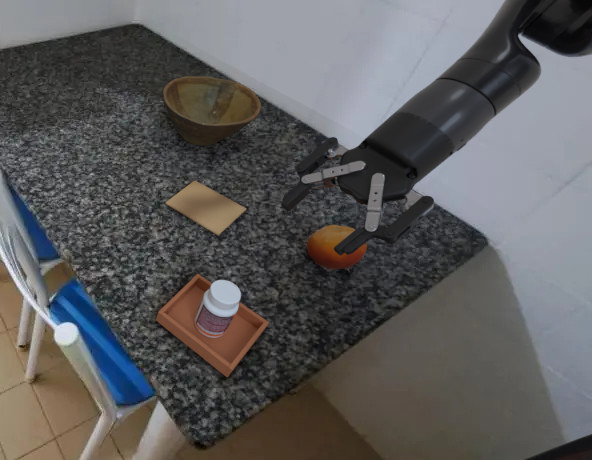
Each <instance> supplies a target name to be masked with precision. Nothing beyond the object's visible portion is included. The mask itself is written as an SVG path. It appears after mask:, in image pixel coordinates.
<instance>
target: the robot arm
mask: <svg viewBox="0 0 592 460" xmlns="http://www.w3.org/2000/svg"><path fill="white" fill-rule="evenodd" d="M519 36H520V37H522V38H524V39H526V40H528V41H530V42H532V43H534V44H535V45H538V46H539V47H543V48H545V50H548V51H550V52H552V53H554V54H556V55H559V56H561V57H564V58H565V57H567V58H583V57H588V56H592V0H504V2H502V4H501V6H500V7H499V8H498V10H497V12H496V13H495V15H494V17H492V19H491V21H490V22H489V24H488V25H487V27H486V28H485V29H484V31H483V32H482V33H481V34H480V36H479V37H478V38H477V39H476V40H475V41H474V43H473V44H472V45H471V46H469V49H467V50H466V51H465V52H464V53H463V54H462V55H461V56H460V57H459V58H458V59H457V60H456V61H455V62H453V64H452V65H450V66H449V67H448V68H447V69H446V70H445V71H444V72H442V73H441V74H440V75H439V76H437V78H436V79H434V80H433V81H432V82H430V84H428V85H427V86H425V87H424V88H423V89H421V90H420V91H419V92H416V94H414V95H413V96H412V97H411V98H410V99H408V100H407V101H406V102H405V103H404V104H403V105H402V106H400V108H398V109H397V110H396V111H395V112H394V113H392V114H391V115H390V116H389V117H388V118H387V119H385V120H384V121H383V122H382V123H381V124H380V125H379V126H378V127H377V128H375V129H374V130H373V131H372V132H371V133H370V134H369V135H367V136H366V137H365V138H364V139H363V140H362V141H361V142H360V143H359V144H358V145H357V146H355V147H354V148H351V149H347V148H346V147H345V146H344V145H342V144H341V143H339V141H338V138H337V137H335V136H331V137H329V138H327V139H326V140H325V141H323V142H322V143H321V144H320V145H319V146H318V147H317V148H315V149H313V151H312V152H311V153H309V154H308V155H307V156H306V157H304V159H302V160H301V161H299V162H298V163H297V164H296V165H295V167H294V170H295V172H296V174H297V176H298V177H299V180H298V183H296V185H294V186H293V187H292V188H291V189H289V190H288V191H287V193H285V194H284V195H283V197H282V199H281V201H282V202H281V203H280V206H281V207H282V208H283V210H285V211H287V212H290V211H292V210H293V209H294V208H295V207H296V206H297V205H299V204H300V203H301V202H302V201H303V200H304V199H305V198H307V196H309V195H310V194H311V190H316V189H322V188H326V189H327V188H328V189H330V188H336V187H338V188H339V190H340V191H341V192H343V193H344V194H346V195H349V196H351V197H353V199H354V200H355V201H356V202H357V203H358V204H360V205H361V206H363V205H364V206H366V217H365V223H364V226H362V227H361V226H358V227H357V228H356V229H355V231H353V232H352V233H351V234H350V235H349V236H347V237H346V238H345V239H344V240H342V241H341V242H340V243H339V244H337V245H336V246H335V247H334V251H335V252H336V253H338V254H339V255H342V254H344V253H346V254H347V255H349V254H352V253H354V252H355V251H356V250H357V249H359V248H360V247H361V246H362V245H364V244H365V243H366V244H367V243H368V241H370V240H372V239H378V240H382V241H384V242H386V243H387V244H391V245H392V244H396V243H397V242H399V240H400V239H402V238H403V237H404V236H406V234H407V233H409V231H411V230H412V229H413V228H414V227H415V226H416V225H417V224H418V223H420V222H421V221H422V220H423V219H425V217H427V216H428V215H429V214H430V213H431V212H432V211H433V210H434V206H435V199H434V197H432V196H430V195H422V194H420V193H418V192H417V191H415V190H413V188H414V187H415V185H417V184H418V183H420V182H421V180H423V179H424V178H426V177H427V176H428V175H429V174H430V173H431V172H433V171H434V170H436V168H438V167H439V166H440V165H442V164H443V163H444V162H445V161H446V160H448V159H449V158H450V157H451V156H452V155H453V154H455V153H456V152H459V151H460V150H462V149H463V148H464V147H466V145H467V144H468V142H470V141H471V140H472V139H473V138H474V137H476V136H477V134H479V132H481V131H482V130H483V129H484V127H485V126H487V124H489V122H490V121H492V120H493V119H494V118H495V117H496V116H498V115H499V114H500V113H502V112H503V111H504V110H505V109H506V108H508V107H509V106H510V105H511V104H513V103H514V102H515V101H516V100H518V99H519V98H520V97H521V96H522V95H523V94H525V93H526V92H527V91H528V90H529V89H531V88H532V87H533V86H534V85H535V84H536V83H537V81H538V80H539V79H540V78H541V74H542V67H541V63H540V61H539V59H538V58H537V57H536V56H535V55H534V54H533V52H531V50H530V49H529V48H528V47H527V46H526V45H525V44H524V43H523V42H522V41H521V38H520V37H519ZM339 158H340V161H339V162H340V163H339V165H338V166H333V167H329V168H324V169H321V170H320V171H318V172H316V171H317V170H318V169H320V167H322V166H323V165H324V164H325V163H327V162H328V161H334V160H336V159H339ZM401 200H406V201H405V203H404V212H403V213H402V214H401V215H399V217H397V218H396V219H395V220H394V221H393V222H391V224H390V225H388V227H387V226H383V225H381V223H382V219H383V215H384V207H385V204H386V203H390V202H391V203H392V202H396V201H401ZM523 460H592V433H590V434H587V435H585V436H582V437H579V438H576V439H573V440H571V441H568V442H566V443H563V444H561V445H557V446H555V447H552V448H550V449H548V450H545V451H542V452H540V453H536V454H534V455H532V456H529V457H526V458H524V459H523Z"/></svg>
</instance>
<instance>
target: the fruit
mask: <svg viewBox="0 0 592 460" xmlns="http://www.w3.org/2000/svg"><path fill="white" fill-rule="evenodd" d="M355 230H356V229H355V228H353V227H350V226H347V225H346V226H345V225H337V224H329V225H325V226H323V227H321V228H319V229H318V230H316V231H314V232H313V233H312V234H311V235H310V236H309V237H308V240H307V242H306V247H307V253H308V255H309V258H311V260H313V263H315V265H317V266H319V267H321V268H323V270H325V271H326V272H327V273H329V272H332V271H336V270H343V269H344V270H347V272H348V273H349V274H350V272H351V271H350V268H352V267H353V266H354V265H356V264H358V263H359V262H360V261H361V260H362V258H363V257H364V255H365V254H366V252H367V249H368V245H367V242H366V243H365V244H364V245H362V246H361V247H360V248H359V249H357V250H356V251H355V252H354V253H352V254H349V255H347V254H346V253H344V254H342V255H339V254H338V253H336V252H335V251H334V247H335V246H336V245H337V244H339V243H340V242H341V241H342V240H344V239H345V238H346V237H347V236H349V235H350V234H351V233H352V232H353V231H355Z"/></svg>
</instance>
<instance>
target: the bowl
mask: <svg viewBox="0 0 592 460" xmlns="http://www.w3.org/2000/svg"><path fill="white" fill-rule="evenodd" d="M162 99H163V104H164V107H165V110H166V112H167V115H168V117H169V119H170V121H171V123H172V125H173V126H174V128H175V129H176V131H177V132H178V133H179V135H180V137H181V138H182V139H183V140H184V141H186V142H187V143H189V144H192V145H195V146H199V147H203V146H204V147H208V146H212V145H214V144H216V143H218V142H220V141H222V140H224V139H227V138H228V137H230V136H232V135H234V134H236V133H237V132H238V131H240V130H242V129H243V128H245V127H246V126H247V125H249V124H250V123H252V121H254V120H255V119H256V118H257V117H258V116H259V114H260V112H261V110H262V103H261V100H260V98H259V96H258V95H257V93H256V92H255V91H253V90H252V88H249V87H248V86H246V85H244V84H241V83H239V82H237V81H234V80H231V79H225V78H217V77H213V76H206V75H205V76H204V75H201V76H191V75H188V76H181V77H177V78H174V79H172V80H171V81H169V82H168V83H167V84H166V85H165V86H164V87H163V90H162Z"/></svg>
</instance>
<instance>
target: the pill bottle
mask: <svg viewBox="0 0 592 460" xmlns="http://www.w3.org/2000/svg"><path fill="white" fill-rule="evenodd" d="M211 283H212V285H211V287H210V289H208V290H207V291H206V292H205V293H204V295H203V298H202V300H201V303H200V305H199V308H198V310H197V312H196V315H195V318H194V323H195V326H196V328H197V329H198V331H199V332H200V333H202V334H203V335H205V336H207V337H211V338H217V337H221V336H222V335H223V334H224V333H225V332H226V330H227V329H228V327H229V325H230V323H231V321H232V320H233V318H234V316H235V314H236V312H237V310H238V307H239V302H240V300H241V298H242V292H241V290H240V288H239V287H238V285H236V284H235V283H233V281H230V280H227V279H217V280H215V281H212V282H211Z"/></svg>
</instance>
